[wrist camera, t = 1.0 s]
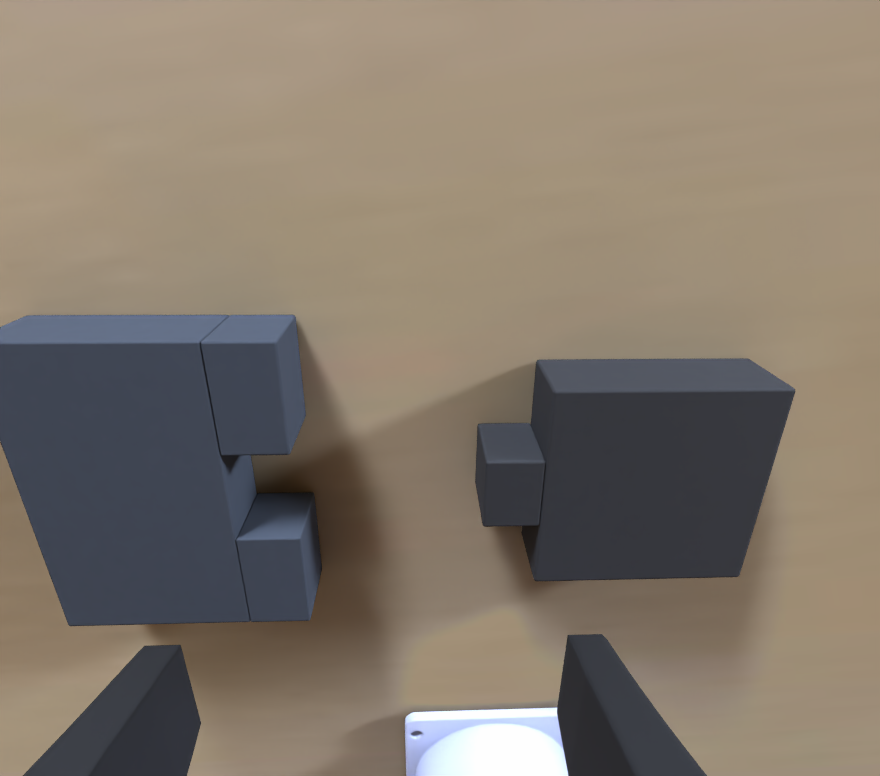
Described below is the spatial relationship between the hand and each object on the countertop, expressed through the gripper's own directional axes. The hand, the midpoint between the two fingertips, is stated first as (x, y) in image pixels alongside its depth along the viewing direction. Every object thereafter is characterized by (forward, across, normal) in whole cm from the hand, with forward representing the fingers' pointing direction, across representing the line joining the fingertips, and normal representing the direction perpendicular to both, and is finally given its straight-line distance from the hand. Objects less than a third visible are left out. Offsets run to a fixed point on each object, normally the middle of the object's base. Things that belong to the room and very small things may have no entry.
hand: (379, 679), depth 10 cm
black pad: (+9, -8, +1) cm, 12 cm away
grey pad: (+9, +7, +1) cm, 12 cm away
